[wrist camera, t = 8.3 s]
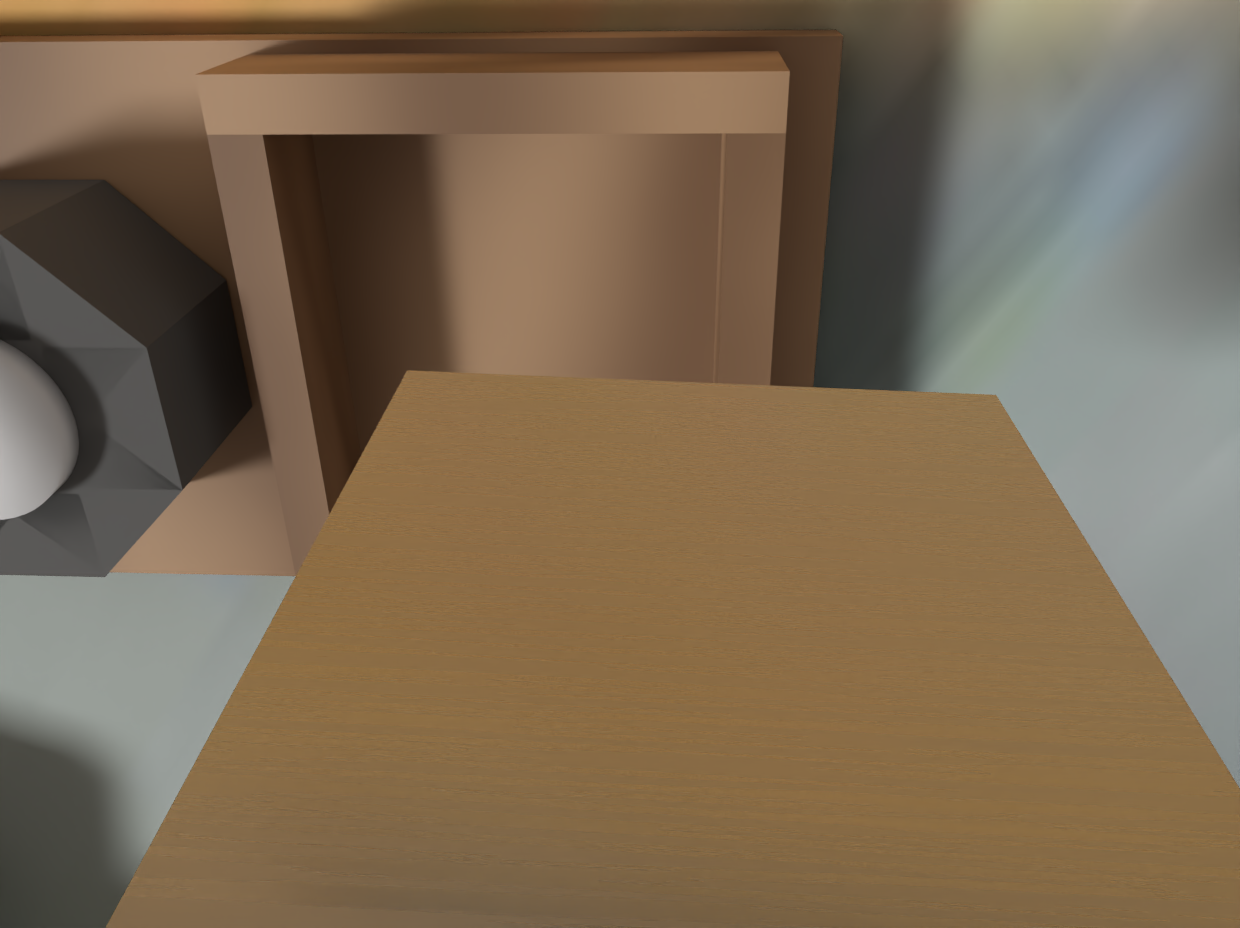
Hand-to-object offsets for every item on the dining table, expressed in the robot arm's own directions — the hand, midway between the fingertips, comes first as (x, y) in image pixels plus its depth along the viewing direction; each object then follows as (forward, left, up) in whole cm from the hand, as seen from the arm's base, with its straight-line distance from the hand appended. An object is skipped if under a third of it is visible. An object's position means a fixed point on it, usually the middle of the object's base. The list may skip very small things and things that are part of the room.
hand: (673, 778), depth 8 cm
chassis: (+6, +1, -11) cm, 13 cm away
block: (0, 0, -1) cm, 1 cm away
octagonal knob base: (+11, +1, -11) cm, 15 cm away
